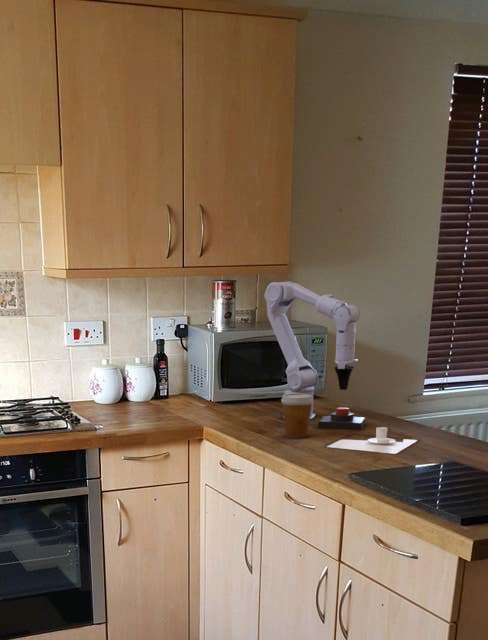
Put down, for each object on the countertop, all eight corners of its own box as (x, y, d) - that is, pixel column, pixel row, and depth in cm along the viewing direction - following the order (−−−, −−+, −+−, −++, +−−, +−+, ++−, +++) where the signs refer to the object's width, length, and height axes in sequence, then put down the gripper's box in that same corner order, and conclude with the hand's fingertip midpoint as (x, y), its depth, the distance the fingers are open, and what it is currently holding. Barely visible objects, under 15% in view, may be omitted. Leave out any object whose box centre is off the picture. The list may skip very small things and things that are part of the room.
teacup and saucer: (389, 446, 244) (390, 432, 243) (362, 444, 248) (362, 429, 247) (399, 441, 251) (400, 426, 250) (372, 438, 255) (373, 424, 254)
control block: (318, 428, 271) (318, 415, 270) (323, 422, 280) (323, 410, 279) (360, 430, 267) (361, 417, 266) (364, 424, 276) (365, 411, 275)
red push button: (334, 415, 271) (335, 409, 271) (336, 413, 275) (337, 407, 274) (347, 416, 270) (348, 409, 269) (349, 414, 274) (349, 407, 273)
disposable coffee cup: (314, 433, 264) (316, 393, 260) (309, 440, 255) (310, 398, 251) (283, 432, 267) (284, 392, 263) (277, 438, 258) (277, 397, 254)
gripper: (355, 347, 264) (353, 393, 269) (361, 343, 277) (359, 386, 282) (332, 347, 266) (330, 392, 271) (338, 342, 279) (337, 385, 284)
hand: (343, 389), depth 277 cm, fingers closed
